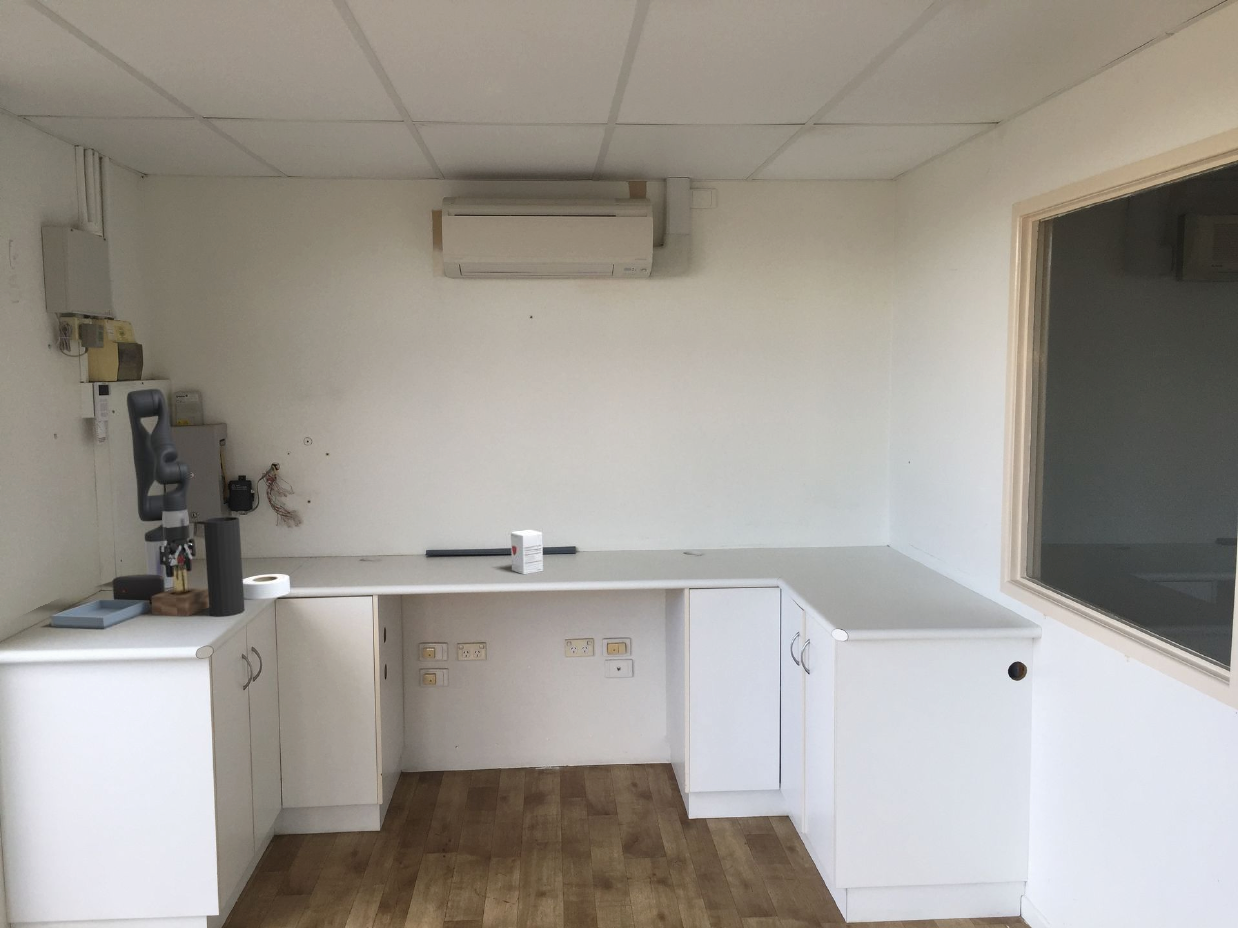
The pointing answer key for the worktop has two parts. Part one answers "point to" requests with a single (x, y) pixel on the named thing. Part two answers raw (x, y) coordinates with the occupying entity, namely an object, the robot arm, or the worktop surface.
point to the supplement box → (527, 551)
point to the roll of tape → (266, 586)
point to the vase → (224, 566)
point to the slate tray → (100, 614)
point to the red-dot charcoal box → (138, 587)
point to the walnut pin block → (180, 602)
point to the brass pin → (180, 579)
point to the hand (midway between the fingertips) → (179, 574)
